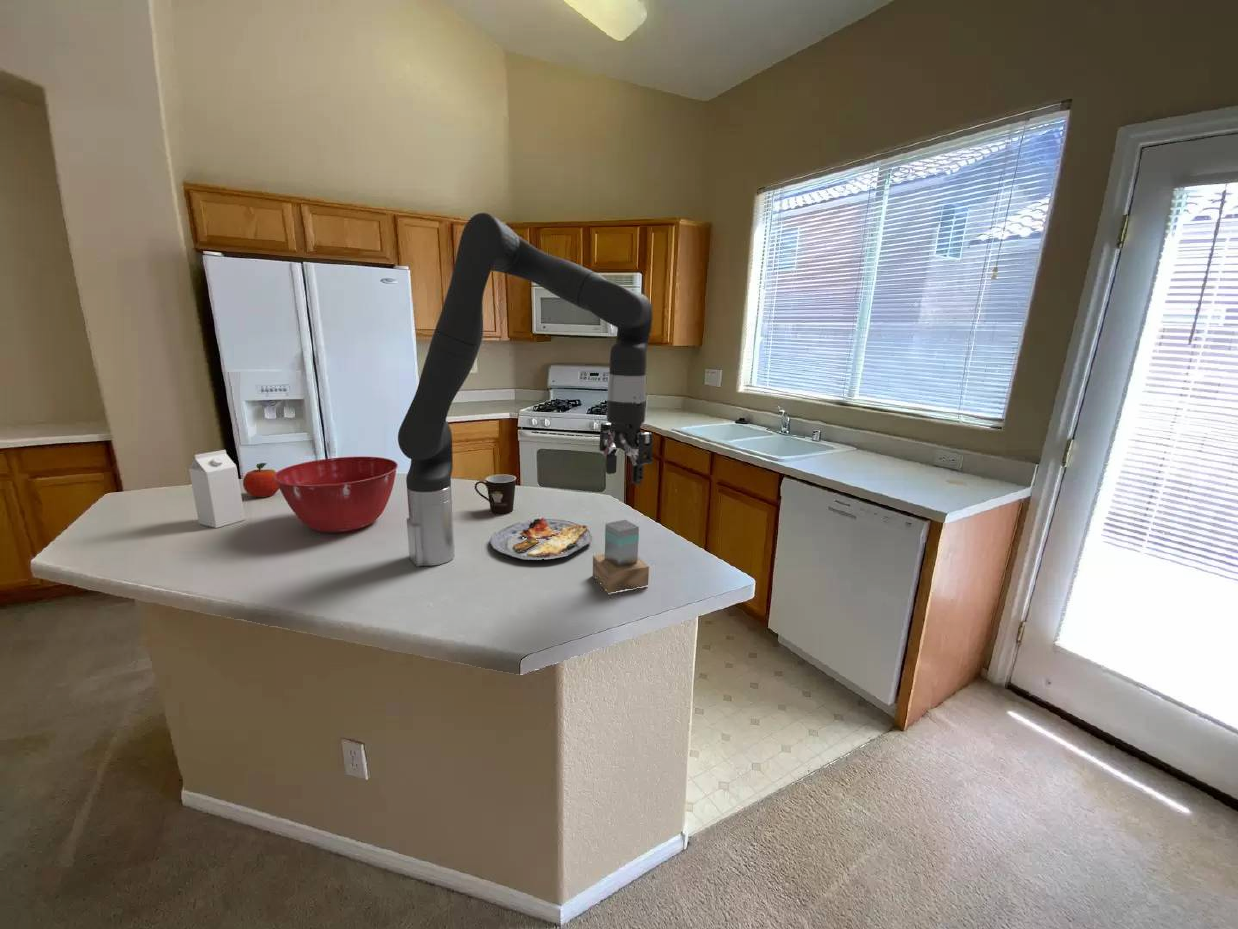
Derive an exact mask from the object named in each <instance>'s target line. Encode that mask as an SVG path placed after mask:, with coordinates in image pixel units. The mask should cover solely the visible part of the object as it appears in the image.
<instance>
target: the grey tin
mask: <svg viewBox="0 0 1238 929" xmlns="http://www.w3.org/2000/svg"><path fill="white" fill-rule="evenodd" d="M604 526H605V530H604V554H605V559H606V560H607V561H608V562H610V563H611V564H613V565H614V566H616V567H617V568H619V567H623V566H626V565H630V564H634V563H637V558H638V557H639V556H638V554H639V540H640V539H639V538H640V536H639V532H640V527H639V526H638V525H636V524H634V523H632V522H631V521H629V520H626V519H621V520H617V521H612V522H607V523H605V525H604Z"/></svg>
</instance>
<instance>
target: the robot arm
mask: <svg viewBox="0 0 1238 929" xmlns="http://www.w3.org/2000/svg"><path fill="white" fill-rule="evenodd" d="M459 239H460V240H459V243H458V248H457V252H456V257H455V262H454V267H453V270H452V276H451V278H450V282H449V286H448V289H447V293H446V294H445V299H444V302H443V305H442V309H441V311H440V315H439V317H438V321H437V322H436V325H435V329H434V331H433V334H432V337H431V341H430V344H429V348H428V351H427V355H426V357H425V361H424V363H423V368H422V371H421V374H420V377H419V380H418V384H417V385H418V386H417V388H416V391H415V394H414V397H413V399H412V401H411V403H410V405H409V407H408V410H407V412H406V414H405V416H404V418H403V420H402V422H401V425H400V427H399V429H398V432H397V433H398V434H397V443H398V447H399V449H400V451H401V453H402V454H403V455H404V456H405V457H406V458H407V459H410V466H409V469H408V471H407V474H406V478H405V479H406V480H405V482H406V491H407V492H406V494H407V507H408V518H406V527H407V528H406V529H407V541H408V542H407V543H408V555H409V556H408V557H409V559H410V560H411V561H412V562H413V564H414V565H415V566H416V567H422V566H425V567H426V566H429V567H430V566H438V565H442V564H445V563H448V562H450V561H451V560H452V559H454V557H455V541H454V540H455V538H454V518H453V516H454V515H453V500H452V499H453V498H452V481H451V480H452V479H451V478H452V473H453V468H454V466H453V462H454V458H453V455H454V454H453V453H454V452H453V435H452V430H451V426H450V424H449V423H448V421H447V417H448V414H449V411H450V408H451V405H452V404H453V401H454V399H455V397H456V396H457V394H458V392H459V391H460V389H461V388H462V387H463V385H464V383H465V381H466V380H467V378H468V376H469V374H470V373H471V370H472V368H473V366H474V364H475V361H476V358H477V355H478V353H479V351H480V348H481V344H482V341H483V337H484V336H483V335H484V310H483V307H484V306H483V302H484V301H483V300H484V295H485V294H484V292H485V290H486V286H487V283H488V280H489V277H490V274H491V272H498V273H502V274H506V275H511V276H514V277H517V278H521V279H524V280H526V281H528V282H531V283H533V284H536V285H538V286H540V287H541V288H542V289H544V290H547V291H548V292H549V293H551V294H553V295H554V296H557V297H558V298H560V299H562V300H564V301H566V302H568V303H570V304H571V305H574V306H576V307H579V308H580V309H582V310H585V311H588V312H590V313H591V314H593V315H594V316H596V317H598V318H599V319H601V320H602V321H604V322H605V323H607V324H609V325H611V326H613V327H616V328H617V332H616V340H615V343H614V344H613V345H612V346H611V349H610V351H609V352H610V353H609V375H608V382H607V399H606V406H607V407H606V421H607V422H601V423H600V431H599V446H598V449H599V451H600V452H603V454H604V456H605V473H606V474H607V475H613V474H616V473H617V460H618V459H617V458H618V456H617V454H618V452H619V451H620V449H621V450H622V451H625V453H626V456H628V457H629V459H630V461H631V463H632V465H631V476H630V478H631V480H630V483H631V484H633V485H640V484H641V483H642V482H643V480H644V468H645V465H648V464H652V462H653V433H652V432H643V431H642V430H641V429H642V428H641V426H642V424H644V423H645V422H646V421H645V420H646V405H647V403H646V402H647V380H646V379H647V378H646V376H647V375H646V374H647V350H648V345H649V341H650V336H651V331H652V324H653V308H652V304H651V301H650V300H649V298H648V297H647V296H646V295H645V294H643V293H642V292H638V291H636V290H632V289H629V288H626V287H624V286H622V285H620V284H617V283H614V282H613V281H610V280H607V279H606V278H605V277H604V276H602V275H601V274H599V273H597V272H595V271H593V270H591V269H588V268H587V267H584V266H582V265H580V264H577V263H575V262H572V261H571V260H567V259H565V258H561V257H557V256H554V255H551V254H548V253H547V252H545V251H542V250H540V249H538V248H536V247H535V246H533V245H531V244H530V243H529V242H527V241H526V240H524V239H523V238H522V237H521V236H520V235H518V234H517V233H515V231H514V230H513V229H512V228H511V227H510V226H509V225H507V224H506V223H504V222H503V221H501V220H500V219H498V218H497V217H495V215H492V214H490V213H487V212H479V213H476V214H474V215H473V216H472V217H470V219H469V220H468V221H467V222H466V223H465V225H464V227H463V230H462V232H461V235H460V238H459ZM605 442H606V444H605ZM645 454H646V455H645Z"/></svg>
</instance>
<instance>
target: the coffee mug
mask: <svg viewBox="0 0 1238 929" xmlns="http://www.w3.org/2000/svg"><path fill="white" fill-rule="evenodd" d="M516 482H517V477H516V476H515V475H511V474H494V475H490V476H487V477H486V478H485V481H483V480H479V481H477V482H475V484H474V490H475V492H476V493H477V494H478V495H479V496H480V497H482V498H483V499H485V500H486V501H488V502H489V507H490V508H489V509H490V513H491V512H492V513H491V514H493V515H496V514H501V515H502V514H505V515H509V514H511V513H510V512H512V511H513V512H514V504H515V494H516V484H517V483H516ZM479 484H483V485H485V487H486V490H487V496H488V497H487V496H486V495H484V494H483V493H481V492H480V491H479V490H478V485H479ZM513 512H512V513H513ZM508 513H509V514H508ZM501 515H500V516H501Z"/></svg>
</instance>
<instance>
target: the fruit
mask: <svg viewBox="0 0 1238 929" xmlns="http://www.w3.org/2000/svg"><path fill="white" fill-rule="evenodd" d="M267 464H268V463H266V462H261V463H256V468H257V469H253V470H250V471H248V472H246V474H245V475H244V478H243V479H242V486H243V488H244V490H245V492H246V493H247V494H249V496H252V497H254V498H267V497H271V496H273V495H275V494H276V493H277V492H278V491H279V490H280V489H279V486H278V484H277V482H276V481H275V480H274V479H273V476H274V475H275V473H277V472H278V471H275V470H274V469H272V468H271V469H263V468H264V467H265V466H266V465H267Z"/></svg>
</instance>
